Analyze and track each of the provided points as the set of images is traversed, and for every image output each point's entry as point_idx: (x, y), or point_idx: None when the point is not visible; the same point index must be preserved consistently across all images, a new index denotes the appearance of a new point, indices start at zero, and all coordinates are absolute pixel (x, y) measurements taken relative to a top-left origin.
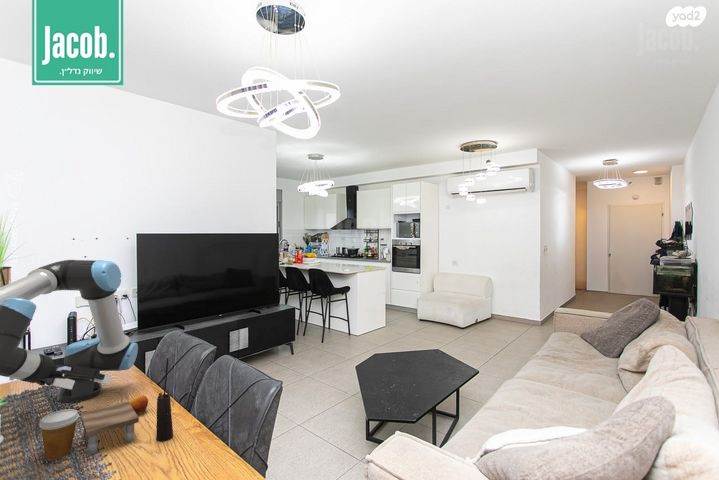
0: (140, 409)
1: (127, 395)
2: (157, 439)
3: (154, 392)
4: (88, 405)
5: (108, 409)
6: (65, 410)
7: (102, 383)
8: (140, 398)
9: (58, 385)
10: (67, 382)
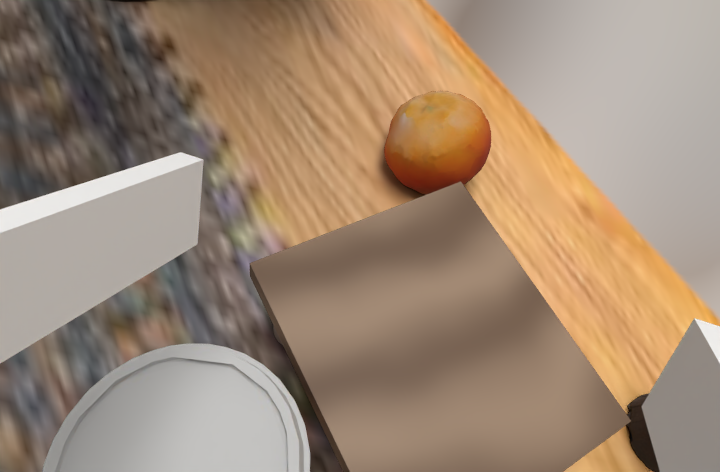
0: (467, 180)
1: (324, 7)
2: (649, 462)
3: (423, 16)
4: (192, 40)
5: (398, 258)
6: (187, 357)
7: (663, 462)
8: (477, 134)
9: (53, 321)
10: (142, 222)
